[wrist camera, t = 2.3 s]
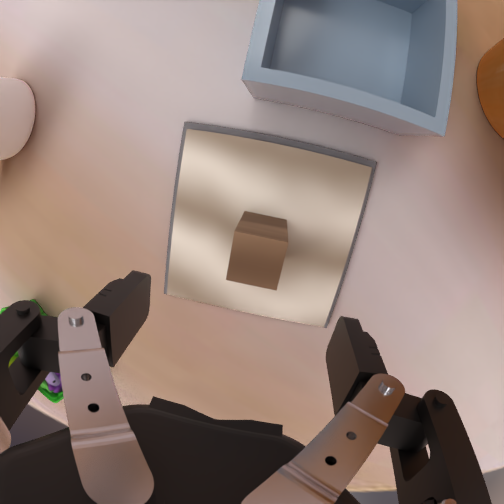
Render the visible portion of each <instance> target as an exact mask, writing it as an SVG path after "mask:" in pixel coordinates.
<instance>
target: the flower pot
mask: <svg viewBox="0 0 504 504" xmlns="http://www.w3.org/2000/svg"><path fill="white" fill-rule="evenodd" d="M477 89H478V95H479V99H480V103H481V106H482V108H483V111H484V113H485V115H486V117H487V119H488V121H489V123H490V124H491V126H492V127H493V128H494V130H495V131H496V132H497V133H498V134H499V135H500V136H501V137H502V138H503V139H504V38H503V39H502V40H501V41H500V42H498V43H497V44H496V45H495V46H494V47H492V48H491V49H490V50H489V51H488V52H487V53H486V54H484V56H483V57H482V59H481V60H480V63H479V66H478V70H477Z"/></svg>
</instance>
